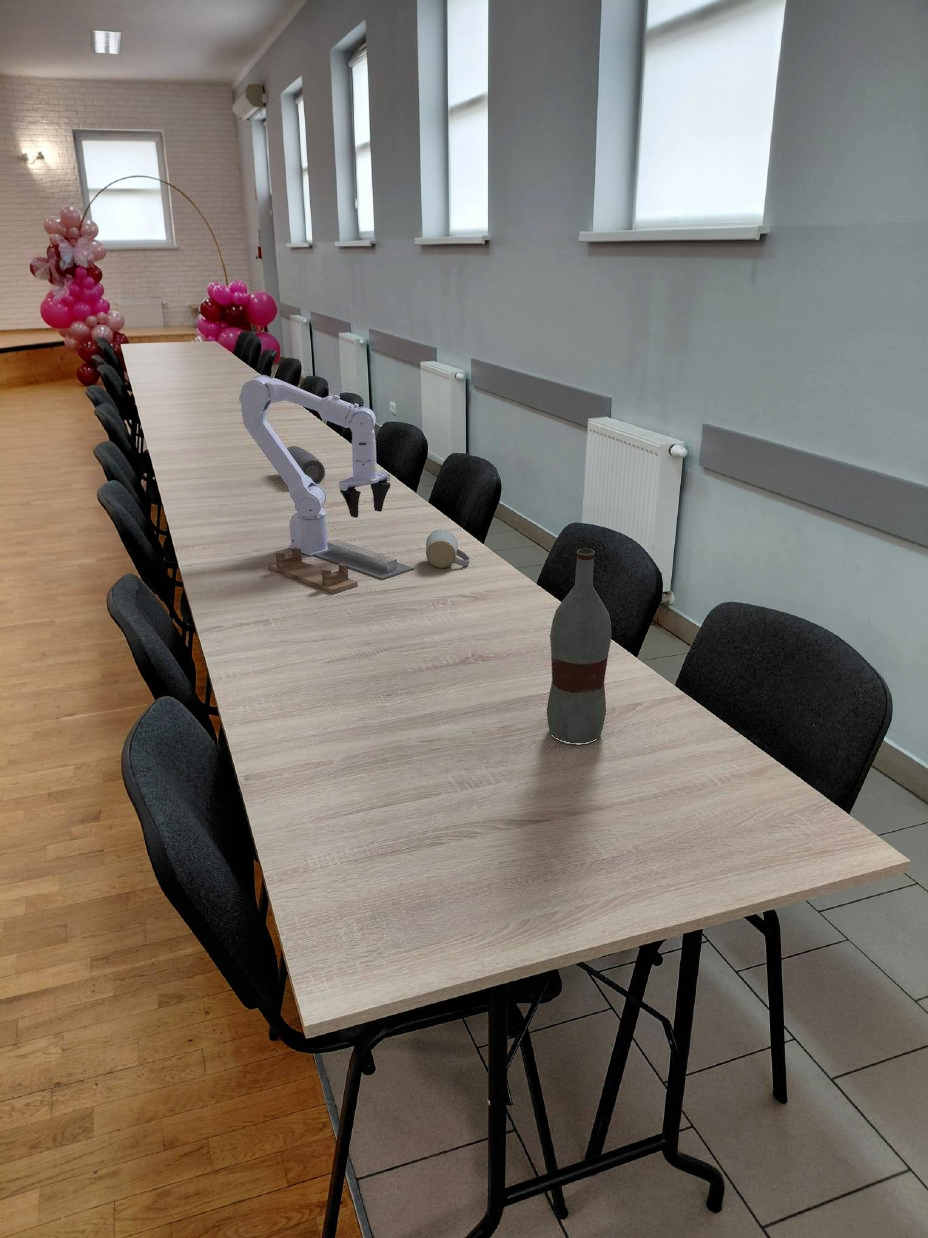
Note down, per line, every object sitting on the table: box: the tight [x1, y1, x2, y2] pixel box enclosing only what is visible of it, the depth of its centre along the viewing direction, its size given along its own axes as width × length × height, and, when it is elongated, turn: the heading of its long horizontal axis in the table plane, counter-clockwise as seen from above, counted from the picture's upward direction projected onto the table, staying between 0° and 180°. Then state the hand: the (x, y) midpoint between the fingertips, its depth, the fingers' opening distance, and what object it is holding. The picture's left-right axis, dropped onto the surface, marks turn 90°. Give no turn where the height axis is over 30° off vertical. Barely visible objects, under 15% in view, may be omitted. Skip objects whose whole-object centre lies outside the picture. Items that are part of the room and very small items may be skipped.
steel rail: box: [327, 539, 398, 572], centre depth 216 cm, size 22×3×2 cm, turn 47°
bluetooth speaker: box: [286, 445, 326, 485], centre depth 289 cm, size 23×9×10 cm, turn 25°
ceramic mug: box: [425, 528, 471, 569], centre depth 215 cm, size 11×8×8 cm
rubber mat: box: [312, 550, 415, 581], centre depth 218 cm, size 28×10×1 cm, turn 47°
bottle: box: [546, 547, 612, 743], centre depth 135 cm, size 9×9×30 cm
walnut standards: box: [268, 547, 359, 595], centre depth 206 cm, size 24×7×4 cm, turn 47°
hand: (366, 513), depth 222 cm, fingers open, 7 cm apart
